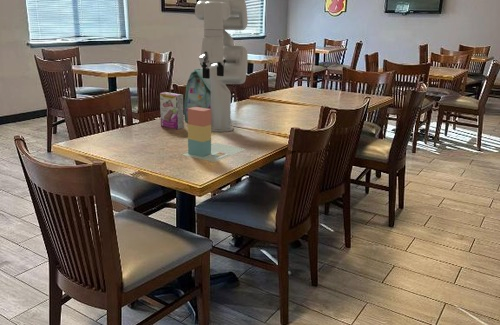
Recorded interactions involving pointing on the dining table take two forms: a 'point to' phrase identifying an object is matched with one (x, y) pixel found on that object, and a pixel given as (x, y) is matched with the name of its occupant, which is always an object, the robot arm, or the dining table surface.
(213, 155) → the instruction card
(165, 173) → the dining table surface
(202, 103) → the lunch bag
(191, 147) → the tower base
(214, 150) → the mat
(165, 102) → the candy bar box
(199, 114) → the brick
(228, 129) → the robot arm
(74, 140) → the dining table surface
